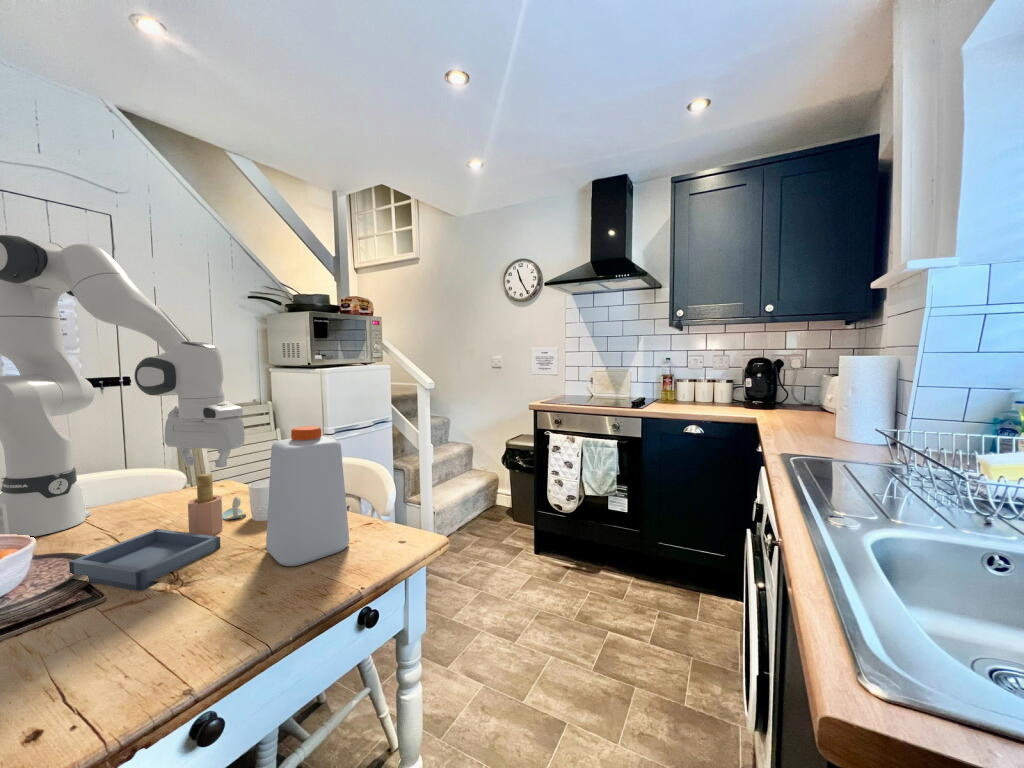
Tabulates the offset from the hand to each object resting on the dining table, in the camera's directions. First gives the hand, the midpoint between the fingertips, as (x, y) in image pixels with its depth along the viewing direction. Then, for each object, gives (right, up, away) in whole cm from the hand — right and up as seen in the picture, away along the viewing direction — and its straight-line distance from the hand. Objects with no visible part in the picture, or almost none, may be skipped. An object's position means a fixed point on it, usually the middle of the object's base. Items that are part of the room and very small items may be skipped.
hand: (205, 465), depth 98 cm
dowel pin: (0, -16, +1) cm, 16 cm away
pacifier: (-1, -17, +10) cm, 20 cm away
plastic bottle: (+28, -18, -5) cm, 34 cm away
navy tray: (-2, -18, -13) cm, 22 cm away
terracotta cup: (0, -17, +1) cm, 17 cm away
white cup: (+8, -17, +11) cm, 22 cm away
